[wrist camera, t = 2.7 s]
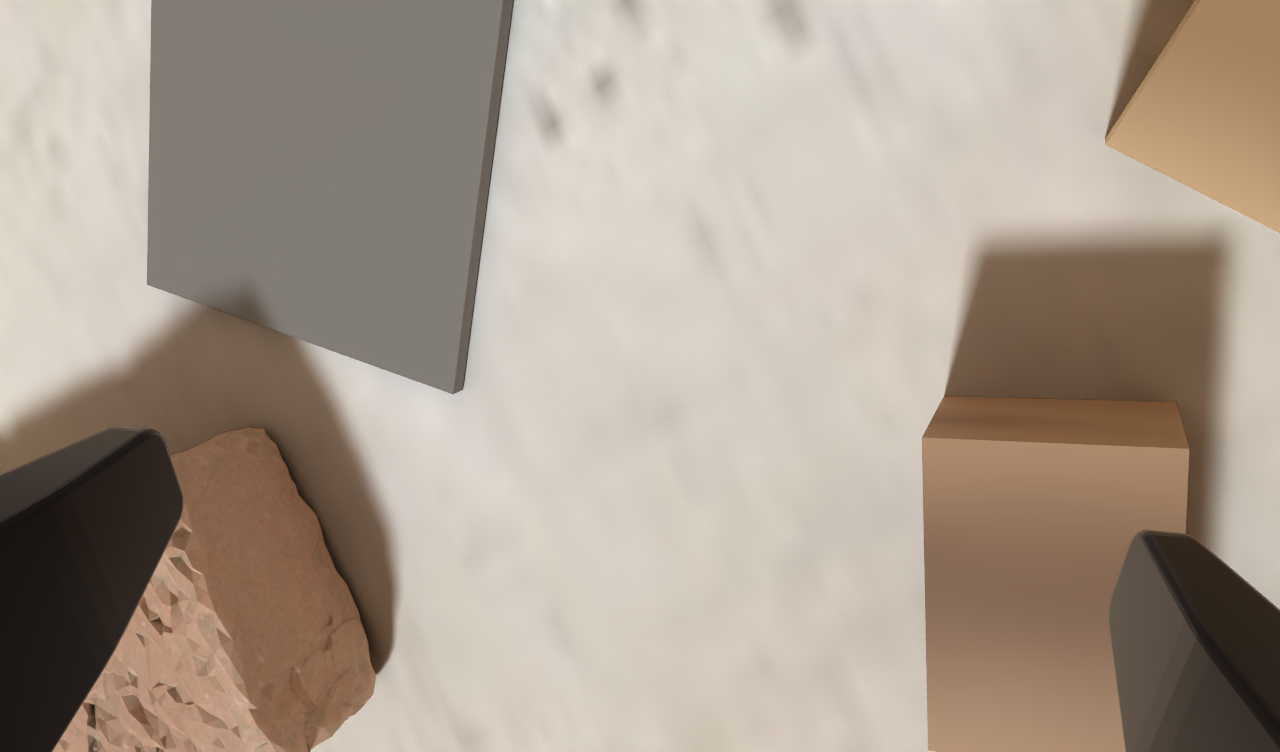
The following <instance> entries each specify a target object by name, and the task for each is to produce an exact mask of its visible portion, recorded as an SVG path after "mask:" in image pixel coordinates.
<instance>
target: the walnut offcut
mask: <svg viewBox="0 0 1280 752" xmlns="http://www.w3.org/2000/svg"><path fill="white" fill-rule="evenodd" d="M922 462H923V512H924V562H925V612H926V662H927V712H928V750H930V751H936V752H1126V751H1125V743H1124V735H1123V728H1122V720H1121V713H1120V705H1119V697H1118V690H1117V682H1116V675H1115V667H1114V659H1113V652H1112V644H1111V637H1110V629H1109V607H1110V601H1111V598H1112V594H1113V591H1114V589H1115V586H1116V583H1117V580H1118V577H1119V574H1120V571H1121V568H1122V565H1123V562H1124V559H1125V557H1126V554H1127V551H1128V548H1129V545H1130V543H1131V540H1132V539H1133V537H1134V536H1135V535H1136V533H1138V532H1140V531H1143V530H1155V531H1165V532H1174V533H1183V534H1186V516H1187V493H1188V469H1189V446H1188V442H1187V438H1186V435H1185V431H1184V427H1183V424H1182V420H1181V416H1180V413H1179V409H1178V406H1177V402H1160V401H1120V400H1081V399H1041V398H1002V397H962V396H944V397H943V399H942V401H941V403H940V405H939V407H938V409H937V410H936V412H935V414H934V416H933V418H932V420H931V422H930V424H929V425H928V427H927V429H926V431H925V433H924V435H923V437H922Z"/></svg>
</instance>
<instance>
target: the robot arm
mask: <svg viewBox="0 0 1280 752" xmlns="http://www.w3.org/2000/svg"><path fill="white" fill-rule="evenodd" d="M183 504H184V500H183V492H182V489H181V486H180V483H179V480H178V477H177V474H176V471H175V468H174V465H173V462H172V459H171V456H170V453H169V450H168V447H167V444H166V442H165V440H164V438H163V437H162V436H161V435H160V433H159V432H157V431H155V430H152V429H147V428H138V427H128V426H116V427H112V428H109V429H106V430H104V431H102V432H99V433H97V434H95V435H92V436H90V437H88V438H85V439H83V440H81V441H78V442H76V443H74V444H71V445H69V446H67V447H64V448H62V449H60V450H57V451H55V452H53V453H50V454H48V455H46V456H43V457H41V458H39V459H36V460H34V461H32V462H29V463H27V464H25V465H22V466H20V467H18V468H16V469H13V470H11V471H9V472H6V473H4V474H2V475H0V752H53V750H54V749H55V747H56V745H57V744H58V742H59V741H60V739H61V737H62V736H63V734H64V733H65V731H66V729H67V728H68V726H69V725H70V723H71V721H72V720H73V718H74V717H75V715H76V713H77V712H78V710H79V709H80V707H81V705H82V704H83V702H84V701H85V699H86V697H87V696H88V694H89V693H90V691H91V689H92V688H93V686H94V685H95V683H96V681H97V680H98V678H99V677H100V675H101V673H102V672H103V670H104V668H105V667H106V665H107V663H108V662H109V660H110V658H111V656H112V655H113V653H114V651H115V649H116V648H117V646H118V644H119V642H120V640H121V638H122V636H123V634H124V632H125V631H126V629H127V627H128V625H129V623H130V621H131V619H132V616H133V614H134V612H135V610H136V608H137V606H138V604H139V602H140V600H141V598H142V596H143V594H144V592H145V590H146V588H147V586H148V584H149V582H150V580H151V578H152V576H153V574H154V572H155V570H156V568H157V566H158V564H159V562H160V560H161V558H162V556H163V553H164V551H165V549H166V547H167V545H168V543H169V541H170V539H171V537H172V535H173V533H174V531H175V529H176V527H177V525H178V523H179V521H180V518H181V515H182V511H183ZM1109 629H1110V637H1111V644H1112V652H1113V659H1114V667H1115V675H1116V682H1117V690H1118V697H1119V705H1120V713H1121V720H1122V728H1123V735H1124V743H1125V751H1126V752H1280V610H1279V609H1278V608H1277V607H1276V606H1275V605H1274V604H1272V603H1271V602H1270V601H1269V600H1268V599H1267V598H1265V597H1264V596H1263V595H1262V594H1261V593H1260V592H1258V591H1257V590H1256V589H1255V588H1254V587H1252V586H1251V585H1250V584H1249V583H1248V582H1247V581H1245V580H1244V579H1243V578H1242V577H1241V576H1240V575H1238V574H1237V573H1236V572H1235V571H1234V570H1233V569H1231V568H1230V567H1229V566H1228V565H1227V564H1225V563H1224V562H1223V561H1222V560H1221V559H1220V558H1218V557H1217V556H1216V555H1215V554H1214V553H1213V552H1211V551H1210V550H1209V549H1208V548H1207V547H1206V546H1204V545H1203V544H1202V543H1201V542H1200V541H1198V540H1197V539H1196V538H1194V537H1193V536H1190V535H1188V534H1183V533H1174V532H1165V531H1155V530H1143V531H1140V532H1138V533H1136V535H1135V536H1134V537H1133V539H1132V540H1131V543H1130V545H1129V548H1128V551H1127V554H1126V557H1125V559H1124V562H1123V565H1122V568H1121V571H1120V574H1119V577H1118V580H1117V583H1116V586H1115V589H1114V591H1113V594H1112V598H1111V601H1110V607H1109Z"/></svg>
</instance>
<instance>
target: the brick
mask: <svg viewBox="0 0 1280 752" xmlns="http://www.w3.org/2000/svg"><path fill="white" fill-rule="evenodd" d="M170 456H171V459H172V462H173V465H174V468H175V471H176V474H177V477H178V480H179V483H180V486H181V489H182V492H183V500H184V504H183V511H182V515H181V518H180V521H179V523H178V525H177V527H176V529H175V531H174V533H173V535H172V537H171V539H170V541H169V543H168V545H167V547H166V549H165V551H164V553H163V556H162V558H161V560H160V562H159V564H158V566H157V568H156V570H155V572H154V574H153V576H152V578H151V580H150V582H149V584H148V586H147V588H146V590H145V592H144V594H143V596H142V598H141V600H140V602H139V604H138V606H137V608H136V610H135V612H134V614H133V616H132V619H131V621H130V623H129V625H128V627H127V629H126V631H125V632H124V634H123V636H122V638H121V640H120V642H119V644H118V646H117V648H116V649H115V651H114V653H113V655H112V656H111V658H110V660H109V662H108V663H107V665H106V667H105V668H104V670H103V672H102V673H101V675H100V677H99V678H98V680H97V681H96V683H95V685H94V686H93V688H92V689H91V691H90V693H89V694H88V696H87V697H86V699H85V701H84V702H83V704H82V705H81V707H80V709H79V710H78V712H77V713H76V715H75V717H74V718H73V720H72V721H71V723H70V725H69V726H68V728H67V729H66V731H65V733H64V734H63V736H62V737H61V739H60V741H59V742H58V744H57V745H56V747H55V749H54V750H53V752H310V750H311V749H313V748H314V747H316V746H317V745H319V744H320V743H322V742H323V741H325V740H327V739H328V738H330V737H332V736H333V734H334V733H335V732H336V731H337V730H338V728H339V727H340V726H341V725H342V724H343V722H344V721H345V720H347V719H348V717H350V716H352V715H354V714H356V713H357V712H358V711H359V710H360V709H361V708H362V707H363V706H364V704H365V703H366V702H367V701H368V700H369V699H370V698H371V696H372V695H373V692H374V685H375V679H376V676H375V672H374V669H373V667H372V665H371V662H370V655H369V647H368V641H367V637H366V634H365V631H364V629H363V626H362V624H361V620H360V614H359V611H358V609H357V607H356V605H355V602H354V600H353V598H352V595H351V593H350V590H349V588H348V585H347V584H346V582H345V581H344V580H343V579H342V577H341V576H340V575H339V574H338V572H337V571H336V569H335V566H334V563H333V561H332V559H331V556H330V554H329V552H328V550H327V548H326V546H325V543H324V538H323V533H322V528H321V526H320V523H319V521H318V518H317V516H316V514H315V513H314V512H313V510H312V509H311V508H310V507H309V506H308V505H307V504H306V503H305V501H304V500H303V499H302V498H301V497H300V496H299V495H298V491H297V488H296V484H295V483H294V482H293V480H292V479H291V477H290V474H289V471H288V468H287V465H286V464H285V462H284V461H283V459H282V457H281V455H280V452H279V449H278V447H277V444H275V443H274V442H273V441H272V440H271V439H270V438H269V437H268V435H267V434H266V432H265V430H264V429H255V428H250V427H245V428H243V429H241V430H233V431H228V432H225V433H222V434H219V435H216V436H214V437H213V438H211V439H210V440H208V441H206V442H204V443H202V444H200V445H197V446H195V447H192V448H190V449H188V450H186V451H183V452H180V453H176V454H171V455H170Z"/></svg>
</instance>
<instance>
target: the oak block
mask: <svg viewBox="0 0 1280 752" xmlns="http://www.w3.org/2000/svg"><path fill="white" fill-rule="evenodd" d="M1105 142H1106V145H1107V146H1109V147H1111V148H1113V149H1115V150H1117V151H1119V152H1121V153H1123V154H1125V155H1127V156H1129V157H1131V158H1133V159H1135V160H1137V161H1139V162H1141V163H1143V164H1145V165H1147V166H1149V167H1151V168H1153V169H1155V170H1157V171H1159V172H1161V173H1163V174H1165V175H1167V176H1169V177H1171V178H1173V179H1175V180H1177V181H1178V182H1180V183H1182V184H1184V185H1186V186H1188V187H1190V188H1192V189H1194V190H1196V191H1198V192H1200V193H1202V194H1204V195H1206V196H1208V197H1210V198H1212V199H1214V200H1216V201H1218V202H1220V203H1222V204H1224V205H1226V206H1228V207H1230V208H1232V209H1234V210H1236V211H1238V212H1240V213H1242V214H1244V215H1246V216H1248V217H1250V218H1252V219H1254V220H1256V221H1257V222H1259V223H1261V224H1263V225H1265V226H1267V227H1269V228H1271V229H1273V230H1275V231H1277V232H1279V233H1280V0H1195V1H1194V3H1193V4H1192V6H1191V7H1190V9H1189V10H1188V12H1187V13H1186V15H1185V16H1184V18H1183V19H1182V21H1181V22H1180V24H1179V25H1178V27H1177V29H1176V30H1175V32H1174V33H1173V35H1172V36H1171V38H1170V39H1169V41H1168V42H1167V44H1166V45H1165V47H1164V48H1163V50H1162V51H1161V53H1160V55H1159V56H1158V58H1157V59H1156V61H1155V62H1154V64H1153V65H1152V67H1151V68H1150V70H1149V71H1148V73H1147V74H1146V76H1145V78H1144V79H1143V81H1142V82H1141V84H1140V85H1139V87H1138V88H1137V90H1136V91H1135V93H1134V94H1133V96H1132V97H1131V99H1130V100H1129V102H1128V104H1127V105H1126V107H1125V108H1124V110H1123V111H1122V113H1121V114H1120V116H1119V117H1118V119H1117V120H1116V122H1115V123H1114V125H1113V126H1112V128H1111V130H1110V131H1109V133H1108V134H1107V136H1106V137H1105Z"/></svg>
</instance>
